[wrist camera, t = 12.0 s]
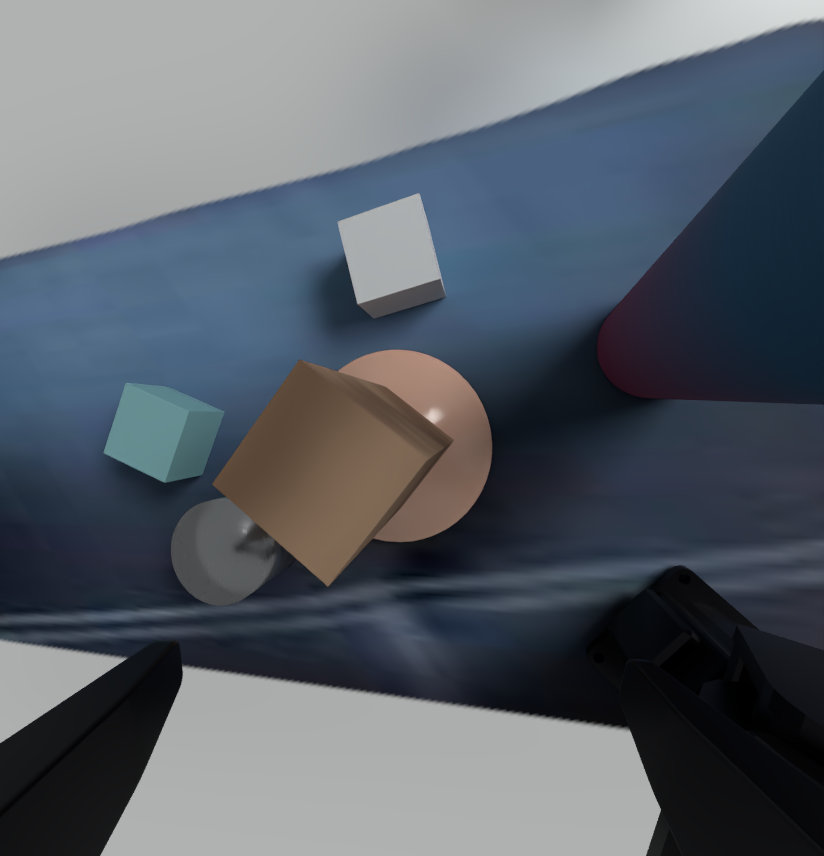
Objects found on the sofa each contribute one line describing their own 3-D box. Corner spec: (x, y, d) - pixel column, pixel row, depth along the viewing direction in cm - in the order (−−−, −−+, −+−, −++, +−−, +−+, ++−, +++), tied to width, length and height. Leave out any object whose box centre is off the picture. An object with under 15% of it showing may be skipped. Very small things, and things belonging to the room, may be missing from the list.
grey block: (428, 224, 21) (419, 192, 18) (446, 297, 21) (440, 278, 18) (357, 247, 22) (337, 221, 19) (374, 319, 22) (357, 304, 19)
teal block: (226, 411, 24) (189, 411, 21) (204, 474, 24) (164, 482, 21) (169, 386, 24) (125, 382, 21) (149, 448, 25) (103, 452, 22)
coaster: (533, 439, 20) (535, 440, 20) (403, 577, 22) (401, 581, 21) (389, 312, 22) (386, 309, 21) (274, 450, 23) (268, 451, 22)
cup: (610, 438, 20) (971, 500, 5) (554, 311, 20) (746, 21, 5) (757, 382, 19) (1782, 253, 4) (696, 248, 19) (1435, -343, 4)
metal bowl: (317, 515, 23) (282, 533, 19) (279, 591, 23) (237, 625, 19) (245, 472, 23) (196, 481, 20) (209, 547, 24) (155, 571, 20)
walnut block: (454, 440, 21) (426, 460, 11) (400, 508, 21) (328, 586, 11) (385, 386, 21) (299, 359, 11) (335, 454, 22) (211, 484, 12)
